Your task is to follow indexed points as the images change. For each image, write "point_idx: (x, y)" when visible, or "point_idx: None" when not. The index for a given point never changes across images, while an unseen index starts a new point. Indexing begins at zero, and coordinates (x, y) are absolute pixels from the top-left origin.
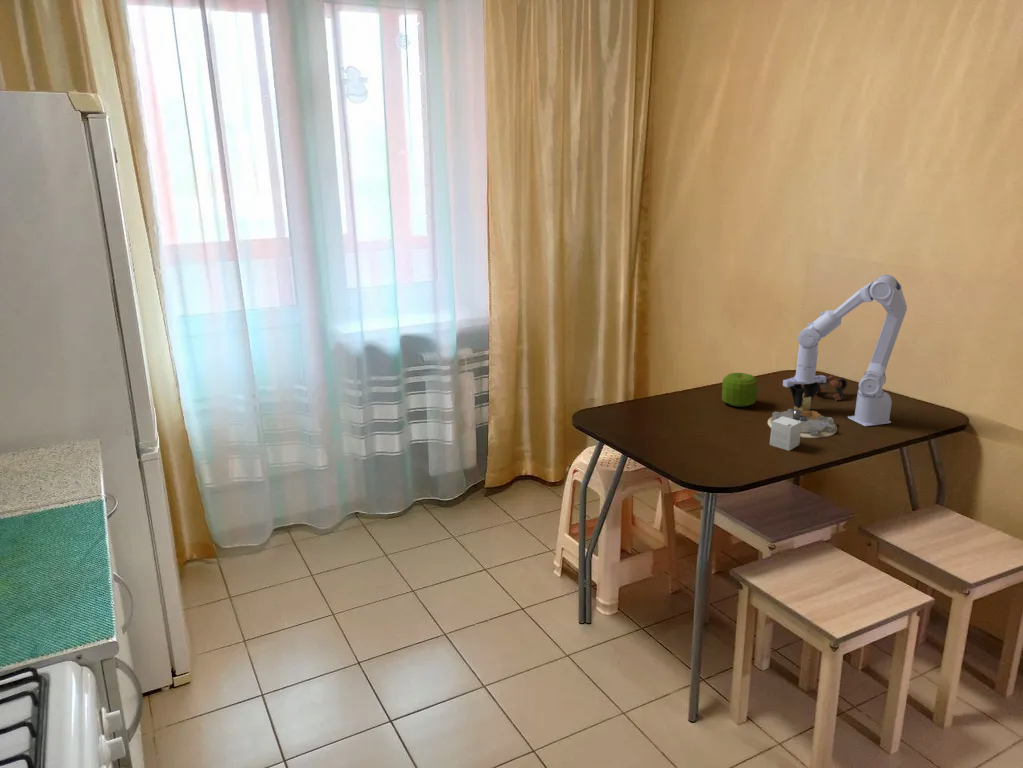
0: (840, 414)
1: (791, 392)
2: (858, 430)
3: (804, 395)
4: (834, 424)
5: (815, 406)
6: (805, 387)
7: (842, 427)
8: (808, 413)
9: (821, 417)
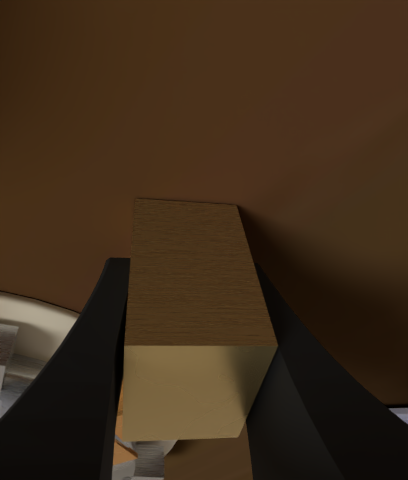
0: (352, 367)
1: (19, 397)
2: (220, 477)
3: (206, 402)
4: (165, 453)
5: (385, 218)
6: (310, 466)
7: (186, 457)
8: None
9: None
